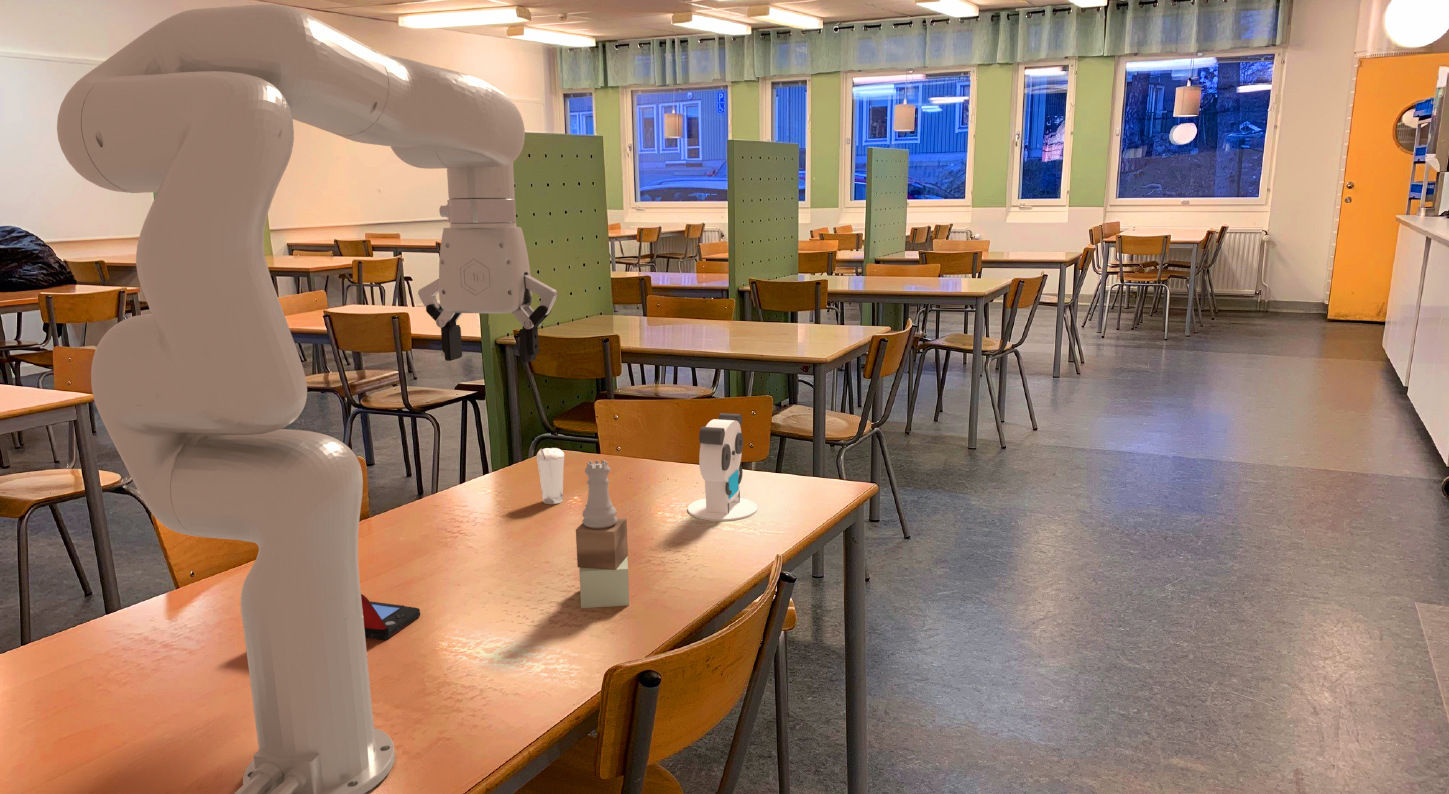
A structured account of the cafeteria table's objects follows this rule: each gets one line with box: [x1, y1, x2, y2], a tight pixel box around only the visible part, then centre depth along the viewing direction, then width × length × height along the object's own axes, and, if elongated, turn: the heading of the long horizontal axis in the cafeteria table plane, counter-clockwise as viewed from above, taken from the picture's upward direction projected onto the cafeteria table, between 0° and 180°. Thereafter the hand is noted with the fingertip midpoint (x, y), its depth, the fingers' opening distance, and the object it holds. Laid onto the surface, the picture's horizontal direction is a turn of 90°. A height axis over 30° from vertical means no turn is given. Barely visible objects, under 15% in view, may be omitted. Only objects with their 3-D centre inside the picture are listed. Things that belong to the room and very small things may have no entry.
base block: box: [578, 556, 630, 609], centre depth 124 cm, size 6×6×5 cm
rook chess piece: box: [581, 459, 618, 529], centre depth 122 cm, size 4×4×8 cm
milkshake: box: [536, 447, 565, 505], centre depth 162 cm, size 4×5×10 cm
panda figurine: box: [687, 412, 758, 522], centre depth 156 cm, size 12×11×15 cm
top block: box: [575, 517, 629, 570], centre depth 123 cm, size 5×5×5 cm
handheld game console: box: [361, 593, 421, 641], centre depth 116 cm, size 12×11×7 cm
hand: (490, 360), depth 116 cm, fingers open, 9 cm apart
